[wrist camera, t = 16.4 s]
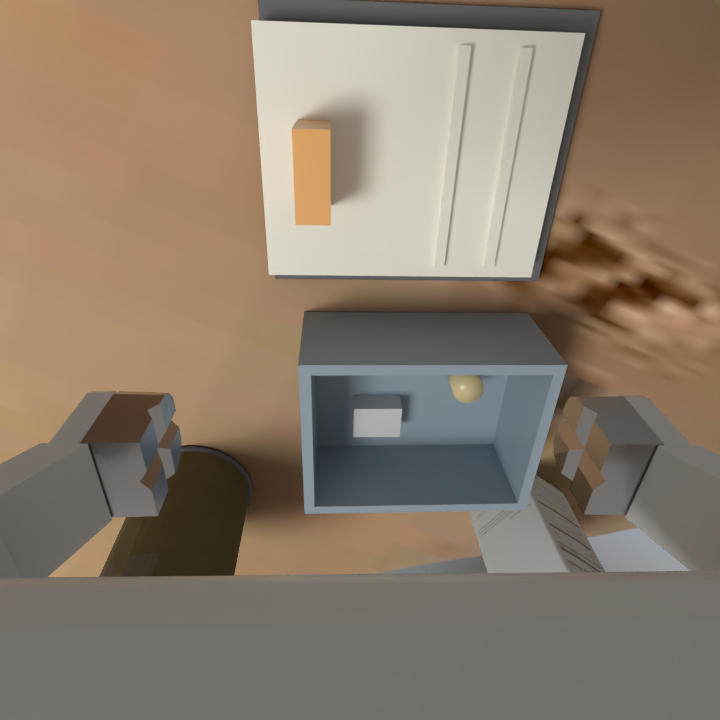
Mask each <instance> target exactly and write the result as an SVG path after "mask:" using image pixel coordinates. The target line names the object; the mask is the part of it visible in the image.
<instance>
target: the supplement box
mask: <svg viewBox="0 0 720 720" xmlns="http://www.w3.org/2000/svg"><path fill="white" fill-rule="evenodd" d="M469 514H470V517H471V520H472V523H473V527H474V530H475V533H476V536H477V540H478V543H479V546H480V549H481V553H482V556H483V559H484V562H485V565H486V569H487V572H488V573H551V572H605V570H604V569H603V567H602V565H601V564H600V562H599V559H598V558H597V556H596V554H595V552H594V551H593V549H592V547H591V545H590V543H589V541H588V539H587V537H586V535H585V534H584V532H583V530H582V528H581V526H580V524H579V522H578V521H577V519H576V517H575V515H574V513H573V511H572V509H571V507H570V505H569V503H568V502H567V500H566V498H565V496H564V494H563V493H562V492H561V491H559V490H558V489H556V488H555V487H554V486H552V485H551V484H549V483H548V482H546V481H545V480H543V479H542V478H540V477H539V476H537V475H535V479H534V482H533V486H532V489H531V492H530V496H529V499H528V503H527V506H526V509H525V510H508V511H469Z"/></svg>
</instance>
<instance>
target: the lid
mask: <svg viewBox="0 0 720 720" xmlns="http://www.w3.org/2000/svg"><path fill="white" fill-rule="evenodd" d="M251 26H252V41H253V55H254V69H255V83H256V97H257V112H258V126H259V140H260V154H261V168H262V182H263V197H264V211H265V225H266V239H267V253H268V268H269V275H333V276H432V277H531V275H532V270H533V266H534V261H535V257H536V252H537V248H538V243H539V239H540V235H541V230H542V226H543V221H544V217H545V212H546V208H547V203H548V199H549V194H550V190H551V185H552V181H553V176H554V172H555V167H556V163H557V158H558V154H559V149H560V145H561V140H562V136H563V131H564V127H565V122H566V118H567V113H568V109H569V104H570V100H571V95H572V91H573V86H574V82H575V77H576V73H577V68H578V64H579V59H580V55H581V50H582V46H583V41H584V37H585V33H569V32H543V31H517V30H492V29H466V28H440V27H414V26H388V25H362V24H336V23H310V22H284V21H258V20H251Z"/></svg>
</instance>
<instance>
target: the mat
mask: <svg viewBox="0 0 720 720" xmlns="http://www.w3.org/2000/svg"><path fill="white" fill-rule="evenodd" d="M258 5H259V21H284V22H310V23H336V24H362V25H388V26H414V27H440V28H466V29H492V30H517V31H543V32H569V33H585V37H584V41H583V46H582V50H581V55H580V59H579V64H578V68H577V73H576V77H575V82H574V86H573V91H572V95H571V100H570V104H569V109H568V113H567V118H566V122H565V127H564V131H563V136H562V140H561V145H560V149H559V154H558V158H557V163H556V167H555V172H554V176H553V181H552V185H551V190H550V194H549V199H548V203H547V208H546V212H545V217H544V221H543V226H542V230H541V235H540V239H539V243H538V248H537V252H536V257H535V261H534V266H533V270H532V275H531V277H432V276H333V275H276V279H364V280H470V281H538V280H539V275H540V271H541V267H542V262H543V258H544V254H545V249H546V245H547V241H548V236H549V232H550V228H551V223H552V219H553V215H554V210H555V206H556V202H557V197H558V193H559V189H560V184H561V180H562V176H563V172H564V167H565V163H566V159H567V154H568V150H569V146H570V141H571V137H572V133H573V128H574V124H575V120H576V115H577V111H578V107H579V102H580V98H581V94H582V89H583V85H584V81H585V76H586V72H587V68H588V63H589V59H590V55H591V51H592V46H593V42H594V38H595V33H596V29H597V25H598V20H599V16H600V12H601V11H596V10H572V9H548V8H523V7H499V6H474V5H450V4H426V3H401V2H377V1H352V0H258Z"/></svg>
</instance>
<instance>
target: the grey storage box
mask: <svg viewBox="0 0 720 720" xmlns="http://www.w3.org/2000/svg"><path fill="white" fill-rule="evenodd" d="M567 366H568V365H567V364H566V362H565V361H564V360H563V358H562V357H561V356H560V355H559V353H558V352H557V351H556V349H555V348H554V347H553V345H552V344H551V343H550V342H549V340H548V339H547V338H546V336H545V335H544V334H543V333H542V331H541V330H540V329H539V327H538V326H537V325H536V323H535V322H534V321H533V320H532V318H531V317H530V316H529V314H528V313H439V312H304V319H303V328H302V337H301V346H300V355H299V364H298V369H299V393H300V417H301V440H302V464H303V488H304V511H305V514H332V513H391V512H449V511H508V510H525V509H526V506H527V503H528V499H529V496H530V492H531V489H532V486H533V482H534V479H535V475H536V472H537V468H538V465H539V462H540V458H541V455H542V451H543V448H544V444H545V441H546V438H547V434H548V431H549V427H550V424H551V421H552V417H553V414H554V410H555V407H556V403H557V400H558V397H559V393H560V390H561V386H562V383H563V379H564V376H565V373H566V369H567Z"/></svg>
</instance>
